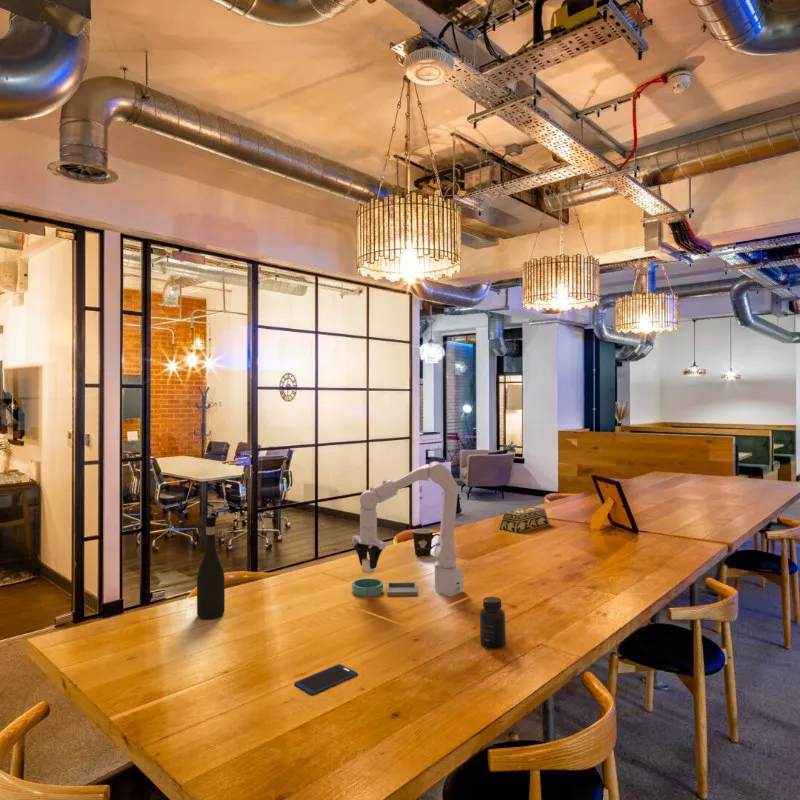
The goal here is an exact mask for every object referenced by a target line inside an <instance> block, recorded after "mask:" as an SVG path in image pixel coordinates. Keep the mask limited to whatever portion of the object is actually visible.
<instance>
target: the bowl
mask: <svg viewBox="0 0 800 800" xmlns="http://www.w3.org/2000/svg"><path fill="white" fill-rule="evenodd" d="M351 592H352V594H353V595H354V596H357V597H367V598H368V597H376V596H379V595H381V594H382V593H383V592H384V582H383V581H382V579H381V580H380V579H377V578H372V577H371V578H368V577H366V578H359V579H356V580H354V581H353V582H352V583H351Z"/></svg>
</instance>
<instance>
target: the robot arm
mask: <svg viewBox="0 0 800 800" xmlns="http://www.w3.org/2000/svg"><path fill="white" fill-rule="evenodd" d="M429 478H430V480H431V481H432V482H434V483H435V484H437V485H439V486H440V487H441V489H442V490H443V493H442V494H443V495H442V496H443V497H442V507H441V515H440V517H441V518H440V519H441V520H440V529H439V535H440V536H439V537H438V539H437V540H438V541H437V543H438V544H437V543H436V544H437V545H436V546H435V547H434V556H435V558H436V561H435V562H434V587H433V588H430V589H429V591H432V592H434V593H439V594H441V595H445V596H447V597H452V596H453V597H454V596H455V595H458V594H460V593H463V592H465V590H464V573H463V571H462V569H461V568H458V566H457V565H456V564H457V563H456V562H457V555H456V552H455V528H456V525H455V524H456V517H457V505H458V495H459V485H458V484H457V481H456V480H455V479H454V476H453V474H452V473H451V471H450V469H448V468H447V467H446V465H443V463H441V462H440V461H436V460H435V461H431V462H429V464H428V463H427V464H424V465H422V466H419V467H417V468H416V469H414V470H412V471H410V472H408V473H407V474H405V475H404V476H402V477H399V478H398V479H396V480H391V479H388V480H386V479H384V480H382V481H381V482H382V483H380V484H378V485H376V486H374V487H373V486H371V487H369V489H366V490H364V491H363V492H362V493H361V494H360V497H359V504H360V508H359V509H360V510H359V511H360V512H359V535H352V537H351V542H352V543H356V544H354V545H353V548H354V549H355V552H356V554H357V556H358V560H359V564H360V566H361V567H362V559H364V558H370V568H371V569H373V568H375V569H376V568H377V566H378V561H379V558H380V556H381V554H382V551H383V550H385V549H386V542H384V541H382V540H381V539H378V536H377V535H378V526H377V525H378V521H377V520H378V513H377V506H378V504H381V503H384V502H385V501H387V500H390V499H392V498H393V497H395V496H397V495H398V492H399V490H400V489H403V488H405V487H408V486H410V485H412V484H414V483H416V482H418V481H427V482H428V481H430V480H429Z"/></svg>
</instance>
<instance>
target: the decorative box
mask: <svg viewBox="0 0 800 800" xmlns="http://www.w3.org/2000/svg"><path fill="white" fill-rule="evenodd" d="M549 525H550V521H549V518H548V515H547V512H546V509H545V508H543V507H536V506H531V505H530V506H525V507H522V508H516V509H512V510H508V511H504V513H503V515H502V519H501V521H500V524H499V528H498V530H499V529H500V530H499V531H503V530H504V532H507V531H508V533H513V534H518V532H519V533H522V531H523V532H525V531H526V530H527V531H531V530H533V529H534V530H535V529H538V528H542V527H545V526H549Z"/></svg>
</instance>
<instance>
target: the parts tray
mask: <svg viewBox="0 0 800 800" xmlns="http://www.w3.org/2000/svg"><path fill="white" fill-rule="evenodd" d="M386 583H387V584H386V589H387V590H386V595H387V597H408V596H409V597H412V596H413V597H417V596H418V588H417V583H416V581H415V582H414V581H411V582H410V581H409V582H407V581H406V582H405V581H403V582H402V581H401V582H386Z"/></svg>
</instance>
